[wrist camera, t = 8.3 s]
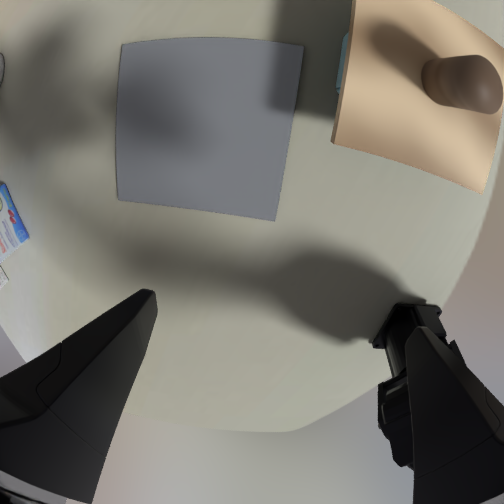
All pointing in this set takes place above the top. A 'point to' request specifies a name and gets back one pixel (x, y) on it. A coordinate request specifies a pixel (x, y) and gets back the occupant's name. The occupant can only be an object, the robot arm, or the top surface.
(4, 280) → the supplement box
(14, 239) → the medicine box
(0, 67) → the cupcake
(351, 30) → the lid
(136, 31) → the top surface
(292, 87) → the mat
